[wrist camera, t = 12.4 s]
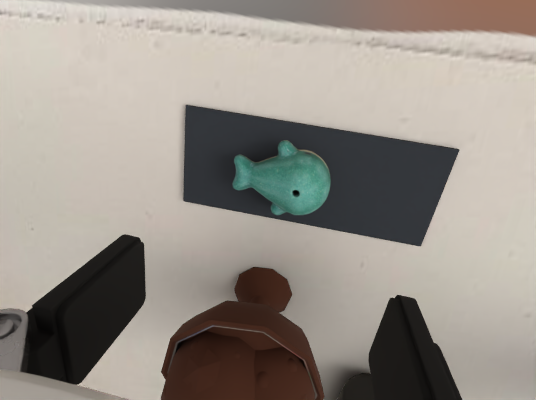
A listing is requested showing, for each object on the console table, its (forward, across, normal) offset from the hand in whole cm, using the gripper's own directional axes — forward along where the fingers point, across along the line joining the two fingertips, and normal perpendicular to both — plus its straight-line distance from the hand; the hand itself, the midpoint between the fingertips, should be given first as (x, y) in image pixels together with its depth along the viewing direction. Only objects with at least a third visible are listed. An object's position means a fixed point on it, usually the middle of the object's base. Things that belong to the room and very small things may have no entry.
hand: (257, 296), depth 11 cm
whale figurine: (+14, +1, 0) cm, 14 cm away
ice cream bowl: (+14, +1, +12) cm, 18 cm away
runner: (+14, -1, 0) cm, 14 cm away
